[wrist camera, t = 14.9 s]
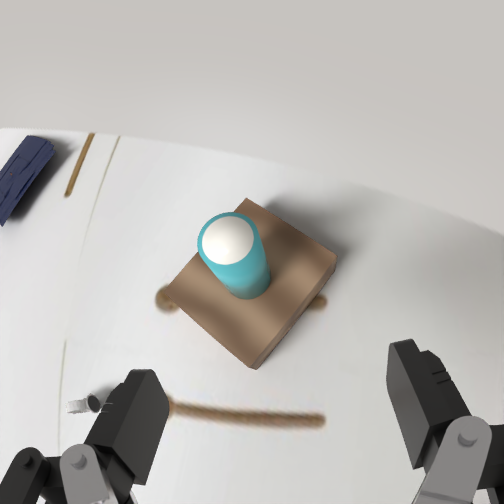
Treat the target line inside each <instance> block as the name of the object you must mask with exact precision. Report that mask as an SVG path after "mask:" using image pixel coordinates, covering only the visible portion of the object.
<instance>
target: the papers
mask: <svg viewBox="0 0 504 504" xmlns="http://www.w3.org/2000/svg"><path fill="white" fill-rule="evenodd" d="M50 143H51V142H50V141H47V140H45V139H42V138H38V137H35V136H26V138H25V139H24V140H23V141H22V143H21V144H20V145H19V147H18V148H17V149H16V150H15V152H14V153H13V154H12V156H11V157H10V158H9V160H8V161H7V163H6V164H5V165H4V167H3V168H2V170H1V171H0V225H1V226H2V227H3V225H4V223H5V222H6V220H7V219H8V217H9V215H10V214H11V212H12V211H13V209H14V208H15V206H16V204H17V203H18V201H19V200H20V198H21V197H22V196H23V194H24V193H25V191H26V190H27V188H28V187H29V186H30V184H31V183H32V181H33V180H34V179H35V177H36V176H37V175H38V173H39V172H40V171H41V169H42V168H43V167H44V166H45V164H46V163H47V162H48V161H49V159H50V158H51V157H52V156H53V154H54V153H55V152H56V151H54V150H52V148H53V147H54V145H53V144H50Z"/></svg>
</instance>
